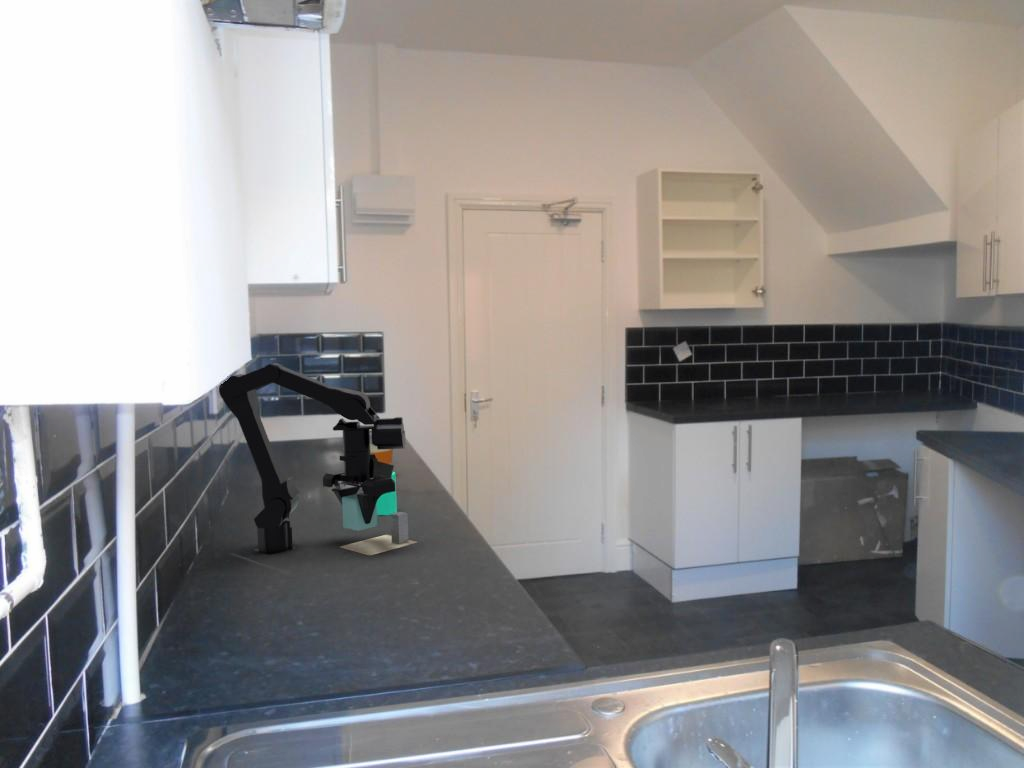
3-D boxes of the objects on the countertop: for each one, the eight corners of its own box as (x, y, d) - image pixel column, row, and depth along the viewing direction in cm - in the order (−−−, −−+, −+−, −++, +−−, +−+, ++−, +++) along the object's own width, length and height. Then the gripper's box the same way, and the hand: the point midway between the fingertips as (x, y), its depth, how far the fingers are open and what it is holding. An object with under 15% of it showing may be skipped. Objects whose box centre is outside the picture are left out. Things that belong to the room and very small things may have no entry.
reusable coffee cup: (351, 477, 262) (349, 431, 261) (388, 473, 268) (386, 428, 267) (360, 484, 251) (358, 436, 250) (399, 479, 256) (397, 432, 255)
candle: (368, 514, 208) (366, 468, 208) (383, 509, 214) (381, 464, 213) (387, 516, 206) (385, 469, 205) (401, 511, 211) (399, 465, 210)
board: (370, 558, 168) (369, 555, 168) (338, 549, 175) (338, 546, 175) (417, 544, 177) (417, 542, 177) (386, 537, 185) (386, 534, 185)
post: (399, 547, 176) (398, 515, 175) (391, 545, 177) (390, 513, 177) (408, 544, 177) (407, 513, 177) (401, 542, 179) (399, 511, 179)
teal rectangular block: (357, 530, 171) (356, 500, 171) (343, 527, 175) (341, 497, 175) (377, 526, 175) (376, 495, 175) (362, 522, 179) (361, 493, 178)
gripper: (414, 448, 173) (416, 520, 175) (361, 442, 186) (364, 509, 187) (372, 455, 165) (375, 531, 166) (319, 448, 178) (323, 518, 179)
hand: (360, 521), depth 175 cm, fingers closed on teal rectangular block, 5 cm apart
